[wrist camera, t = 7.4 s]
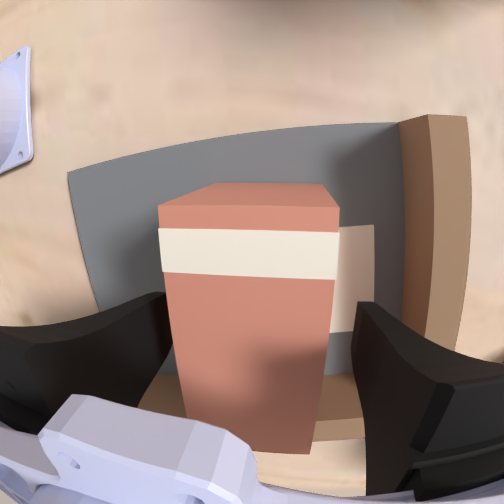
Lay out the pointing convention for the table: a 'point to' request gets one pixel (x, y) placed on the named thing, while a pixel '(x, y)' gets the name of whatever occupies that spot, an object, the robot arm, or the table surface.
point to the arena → (350, 227)
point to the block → (252, 306)
